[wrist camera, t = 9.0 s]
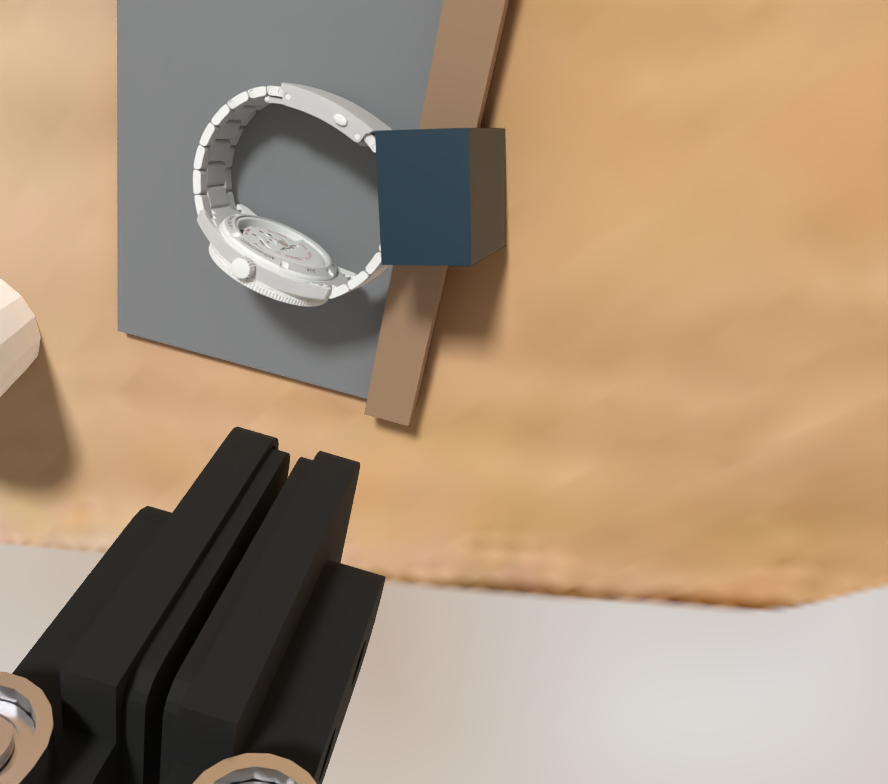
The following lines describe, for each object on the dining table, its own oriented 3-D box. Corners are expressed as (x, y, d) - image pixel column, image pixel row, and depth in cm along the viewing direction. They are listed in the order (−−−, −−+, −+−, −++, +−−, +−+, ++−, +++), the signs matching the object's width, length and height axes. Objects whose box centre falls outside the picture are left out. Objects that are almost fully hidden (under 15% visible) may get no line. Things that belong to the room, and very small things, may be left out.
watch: (505, 295, 33) (254, 289, 36) (504, 78, 31) (235, 90, 34) (471, 325, 28) (181, 315, 31) (466, 66, 25) (153, 83, 28)
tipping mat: (126, -346, 26) (96, -362, 24) (564, -240, 25) (562, -248, 24) (124, 324, 39) (104, 342, 37) (416, 404, 38) (408, 426, 37)
